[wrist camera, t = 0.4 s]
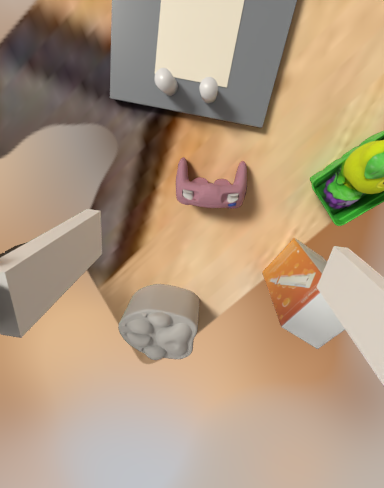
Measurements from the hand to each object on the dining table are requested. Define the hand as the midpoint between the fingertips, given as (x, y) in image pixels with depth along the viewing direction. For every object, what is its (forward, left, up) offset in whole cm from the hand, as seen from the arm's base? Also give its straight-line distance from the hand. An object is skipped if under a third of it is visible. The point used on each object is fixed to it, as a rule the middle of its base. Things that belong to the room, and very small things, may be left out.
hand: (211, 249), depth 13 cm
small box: (+16, -11, -24) cm, 31 cm away
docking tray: (-5, +18, -23) cm, 30 cm away
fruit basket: (+18, +5, -24) cm, 30 cm away
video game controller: (0, 0, -24) cm, 24 cm away
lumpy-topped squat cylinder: (-4, -25, -24) cm, 35 cm away
